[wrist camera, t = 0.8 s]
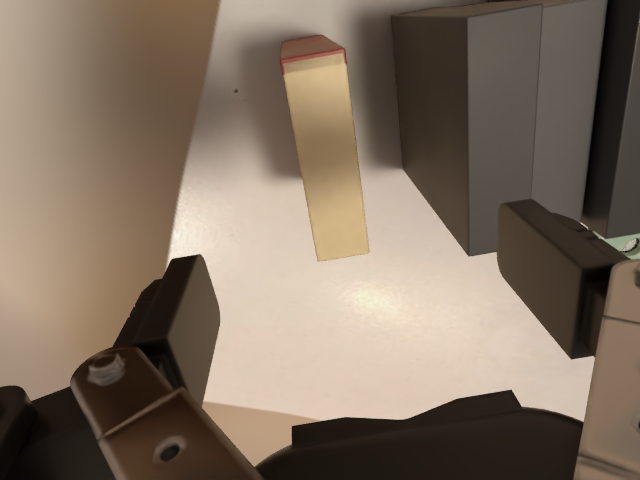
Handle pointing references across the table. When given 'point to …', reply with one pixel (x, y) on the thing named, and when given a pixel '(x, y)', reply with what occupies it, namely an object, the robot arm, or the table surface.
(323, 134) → the cream book
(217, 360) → the table surface
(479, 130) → the grey books
